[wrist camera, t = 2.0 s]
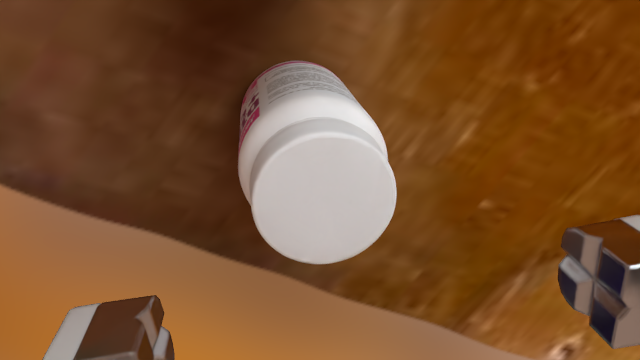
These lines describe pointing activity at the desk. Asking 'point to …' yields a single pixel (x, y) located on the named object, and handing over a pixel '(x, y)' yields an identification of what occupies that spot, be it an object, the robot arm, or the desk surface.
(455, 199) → the desk surface
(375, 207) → the pill bottle
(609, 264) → the robot arm
